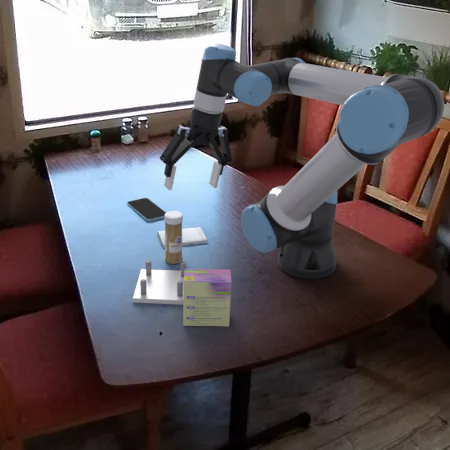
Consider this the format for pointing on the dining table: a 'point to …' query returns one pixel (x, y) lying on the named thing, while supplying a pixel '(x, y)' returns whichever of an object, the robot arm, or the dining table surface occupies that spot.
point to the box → (206, 297)
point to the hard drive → (187, 236)
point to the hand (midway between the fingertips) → (190, 187)
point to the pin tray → (160, 286)
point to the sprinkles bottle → (173, 236)
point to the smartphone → (147, 209)
